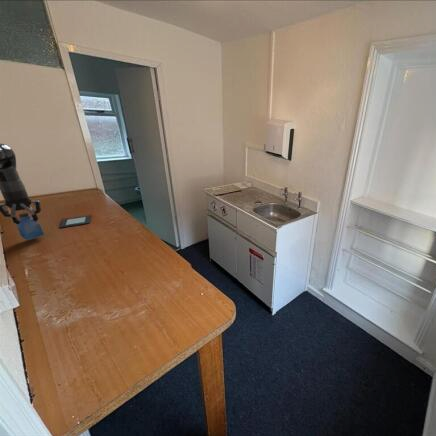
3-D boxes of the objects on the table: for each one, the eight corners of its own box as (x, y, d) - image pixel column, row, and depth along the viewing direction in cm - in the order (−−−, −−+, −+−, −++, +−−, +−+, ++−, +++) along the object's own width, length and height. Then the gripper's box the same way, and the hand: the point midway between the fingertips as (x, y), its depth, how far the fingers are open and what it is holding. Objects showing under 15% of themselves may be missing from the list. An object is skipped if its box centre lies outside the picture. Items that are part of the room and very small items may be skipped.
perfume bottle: (38, 231, 120) (29, 210, 116) (44, 234, 118) (35, 213, 113) (21, 236, 115) (11, 214, 110) (27, 239, 113) (17, 217, 108)
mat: (59, 228, 131) (59, 227, 131) (63, 220, 141) (62, 219, 140) (89, 223, 138) (89, 222, 138) (90, 216, 148) (90, 215, 147)
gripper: (-15, 193, 100) (2, 228, 107) (33, 189, 108) (46, 222, 115) (-8, 188, 106) (7, 222, 112) (36, 185, 114) (49, 217, 120)
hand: (27, 222), depth 114 cm, fingers closed on perfume bottle, 5 cm apart
